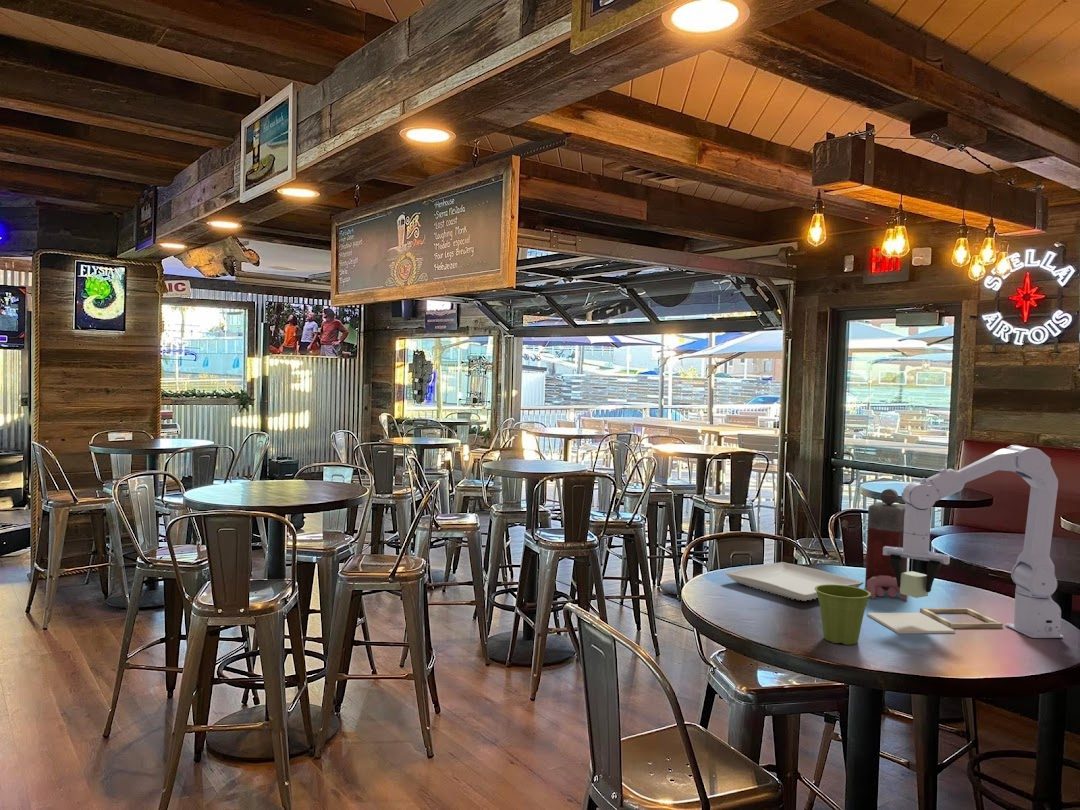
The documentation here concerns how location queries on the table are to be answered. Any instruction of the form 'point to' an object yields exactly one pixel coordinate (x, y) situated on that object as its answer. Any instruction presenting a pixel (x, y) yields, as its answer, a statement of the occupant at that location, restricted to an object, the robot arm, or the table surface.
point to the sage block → (913, 584)
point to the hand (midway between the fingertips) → (914, 588)
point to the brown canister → (884, 535)
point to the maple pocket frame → (990, 624)
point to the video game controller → (883, 581)
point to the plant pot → (842, 612)
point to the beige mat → (910, 623)
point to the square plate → (789, 579)
